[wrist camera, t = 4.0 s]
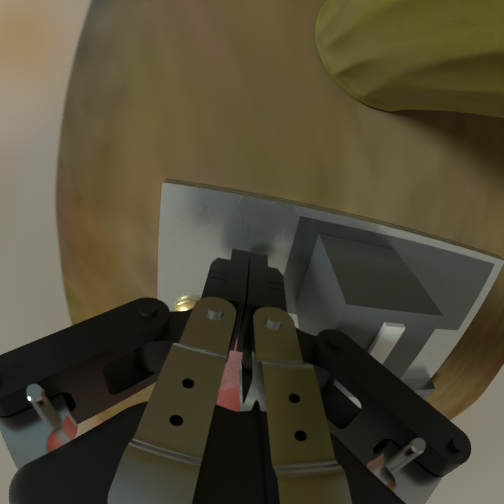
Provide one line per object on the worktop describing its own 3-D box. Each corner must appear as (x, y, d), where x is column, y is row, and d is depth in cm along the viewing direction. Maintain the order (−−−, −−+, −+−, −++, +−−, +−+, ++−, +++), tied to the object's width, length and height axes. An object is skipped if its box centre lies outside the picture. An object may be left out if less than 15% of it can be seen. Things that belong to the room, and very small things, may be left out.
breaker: (318, 233, 13) (347, 308, 8) (395, 249, 13) (445, 319, 8) (295, 305, 14) (306, 389, 10) (365, 314, 15) (394, 390, 10)
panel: (166, 179, 12) (153, 190, 11) (499, 256, 14) (515, 270, 12) (165, 415, 22) (161, 432, 20) (376, 430, 23) (379, 445, 21)
